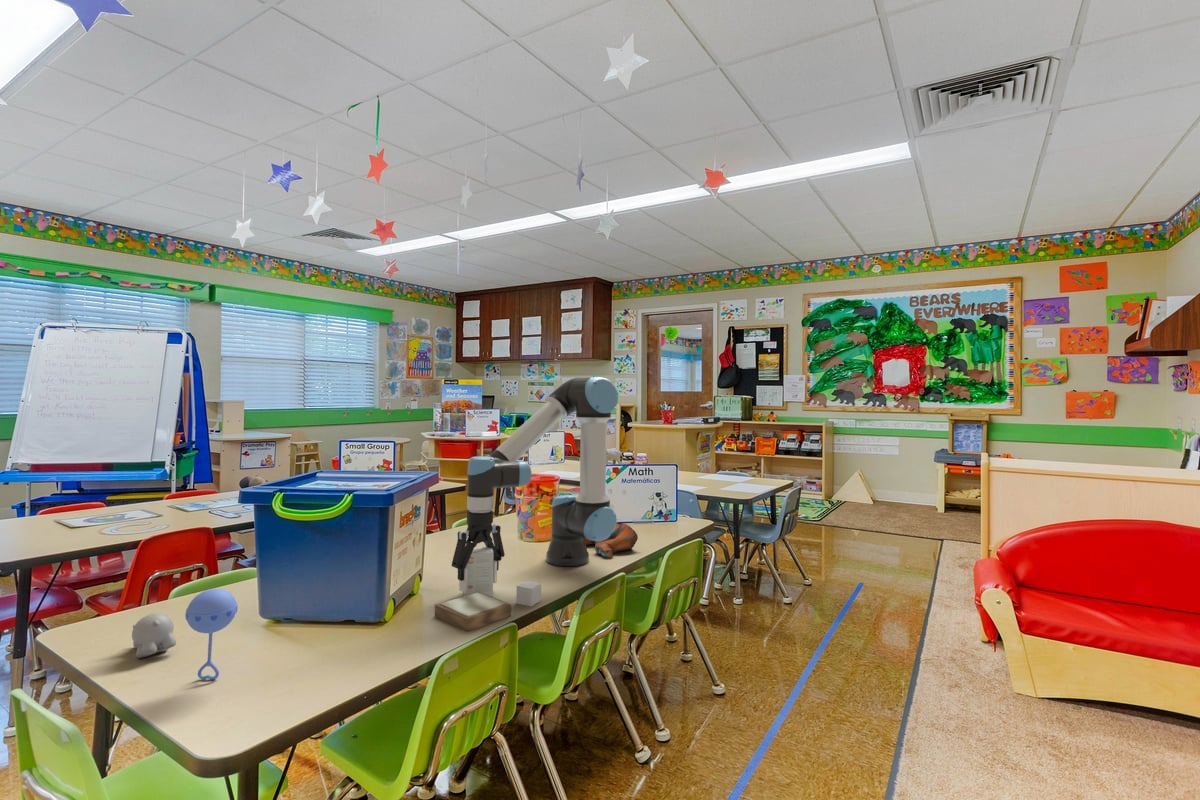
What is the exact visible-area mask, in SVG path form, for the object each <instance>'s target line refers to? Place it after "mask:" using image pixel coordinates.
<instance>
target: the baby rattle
mask: <svg viewBox="0 0 1200 800" xmlns="http://www.w3.org/2000/svg"><path fill="white" fill-rule="evenodd" d="M238 606H239V605H238V601H237V599H236V598H235V596H234V595H233V594H232V592H230V591H228V590H226V589H223V588H210V589H207V590H204V591H202V592H200V593H198V594H197V595H195V597H193V599H192V600H191V601H190V603H189V604H188V606H187V608H186V610H185V616H184V617H185V620H186V622H187V624H188V625H189V627H190V628H191V629H192V630H194V631H195V632H197V633H202V634H208V645H207V661H206V662H205V663H204V664H202V666H201V667H200V668H199V669H198V670H197V677H198V678H199V679H201V680H206V679H209V680H212V681H213V680H214V681H215V680H217V679H218V677H219V676H220V670H219V669H218V667H217V666H216V664H214V662H213V661H212V652H213V651H212V647H213V633H216V632H219V631H221V630H223V629H224V628H227V627H228V625H229V624H231V622H232V621H233V620H234V618H235V616H236V615H237V613H238V608H239V607H238ZM206 667H211V668H212V670H213V671H214V673H215V675H214V676H213V675H211V674H206V675H203V674H202V672H203V670H204V669H205V668H206Z"/></svg>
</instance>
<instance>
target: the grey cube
mask: <svg viewBox="0 0 1200 800" xmlns="http://www.w3.org/2000/svg"><path fill="white" fill-rule="evenodd" d="M515 595H516V596H515V597H516V599H515V600H516V602H515V603H516V604H519V605H523V606H527V607H533V606H535V605H536V604H538V603H540V602H541V601H542V583H540V582H535V581H530V580H525V581H523V582H521V583H519V584H517V585H516V594H515Z"/></svg>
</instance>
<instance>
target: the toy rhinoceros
mask: <svg viewBox="0 0 1200 800" xmlns="http://www.w3.org/2000/svg"><path fill="white" fill-rule="evenodd" d="M174 625H175V623H174V621H173V620H172V618H171V617H170V616H169V615H167V614H166V613H162V612H155V613H150V614H148V615H147V614H146V615H145V616H143V617H141V618H140V619H139V620H138V621H137V622H136V623H135V624H133V625H132V631H131V638H132V641H133V643H132V645H133V647H134V648H135V649H136V653H135V656H136V658H137V659H143V658H147V657H149V656H151V655H154V654H157V653H162V652H165V651H167V650H169V649H171V648H173V647H175V646H176V645H177V640H176V638H175V636H174V635H173V633H174V630H175V626H174Z"/></svg>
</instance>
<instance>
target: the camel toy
mask: <svg viewBox="0 0 1200 800" xmlns="http://www.w3.org/2000/svg"><path fill="white" fill-rule="evenodd" d="M584 539H585V543H586V546H587V545H591V544H593V545H594V544H595V546H594V550H595V552H596V554H597V555H601V556H602V557H603V558H604V559H611V558H612V557H614V552H621V551H626V550H629V549H631V550H632V549H633V548H634V546H635V545H636V544H637V541H638V539H639V537H638V534H637V531H635V530H634V529H633V528H632V527H631V526H630V525H629V524H627V523H624V522H616V527H615V529H614V531H613V533H611V535H610V536H609V537H608V538H607V539H605V540H603V541H593V540H588V539H587V538H584Z"/></svg>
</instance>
